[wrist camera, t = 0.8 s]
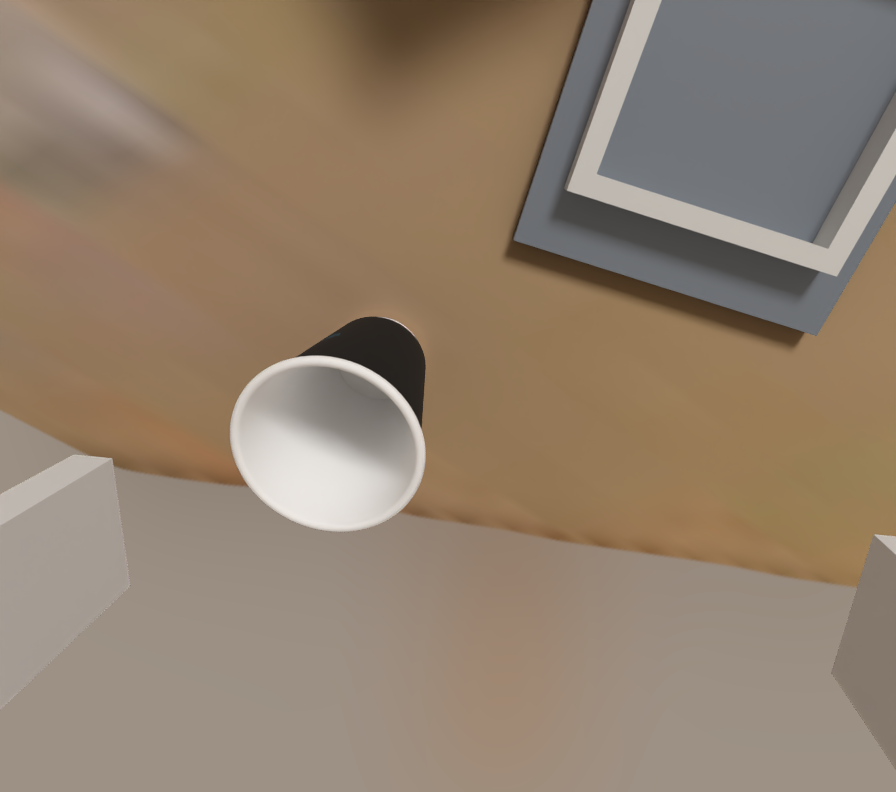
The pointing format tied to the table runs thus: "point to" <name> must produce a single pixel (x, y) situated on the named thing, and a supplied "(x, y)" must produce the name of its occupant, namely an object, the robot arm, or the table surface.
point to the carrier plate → (724, 149)
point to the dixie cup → (336, 428)
